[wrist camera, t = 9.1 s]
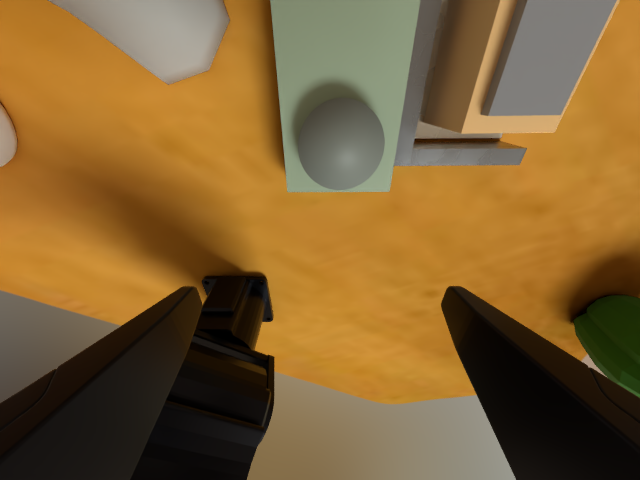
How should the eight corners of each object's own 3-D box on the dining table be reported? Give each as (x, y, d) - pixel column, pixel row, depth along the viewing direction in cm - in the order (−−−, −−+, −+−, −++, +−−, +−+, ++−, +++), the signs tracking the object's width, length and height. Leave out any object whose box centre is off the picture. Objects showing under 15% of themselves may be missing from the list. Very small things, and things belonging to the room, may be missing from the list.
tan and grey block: (491, 121, 15) (565, 134, 11) (423, 122, 15) (467, 135, 11) (535, -6, 12) (670, -68, 7) (449, -4, 12) (529, -65, 7)
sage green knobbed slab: (381, 179, 18) (393, 197, 15) (291, 180, 18) (285, 197, 15) (424, -128, 10) (465, -218, 7) (268, -125, 10) (246, -211, 7)
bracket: (494, 155, 17) (519, 164, 15) (384, 156, 17) (393, 165, 15) (582, -71, 11) (643, -109, 9) (415, -67, 11) (437, -104, 9)
